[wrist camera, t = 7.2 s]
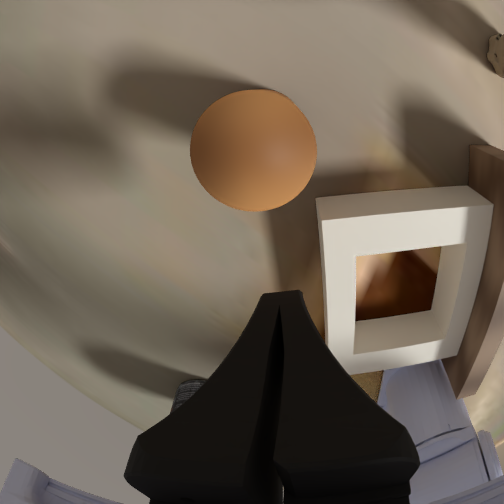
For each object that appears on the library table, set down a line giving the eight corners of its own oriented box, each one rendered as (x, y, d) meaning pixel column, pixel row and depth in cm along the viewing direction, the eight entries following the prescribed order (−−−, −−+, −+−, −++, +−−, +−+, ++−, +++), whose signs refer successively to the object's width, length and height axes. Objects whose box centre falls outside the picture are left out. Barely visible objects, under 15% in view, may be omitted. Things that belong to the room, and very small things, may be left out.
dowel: (306, 156, 18) (322, 203, 11) (234, 166, 19) (205, 218, 12) (296, 84, 16) (307, 81, 9) (220, 96, 17) (178, 104, 10)
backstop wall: (454, 346, 25) (475, 394, 20) (437, 350, 25) (456, 399, 20) (490, 145, 16) (545, 171, 11) (469, 144, 16) (523, 171, 11)
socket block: (443, 327, 24) (456, 355, 21) (325, 345, 26) (328, 377, 22) (467, 185, 18) (493, 204, 15) (315, 197, 19) (321, 220, 16)
